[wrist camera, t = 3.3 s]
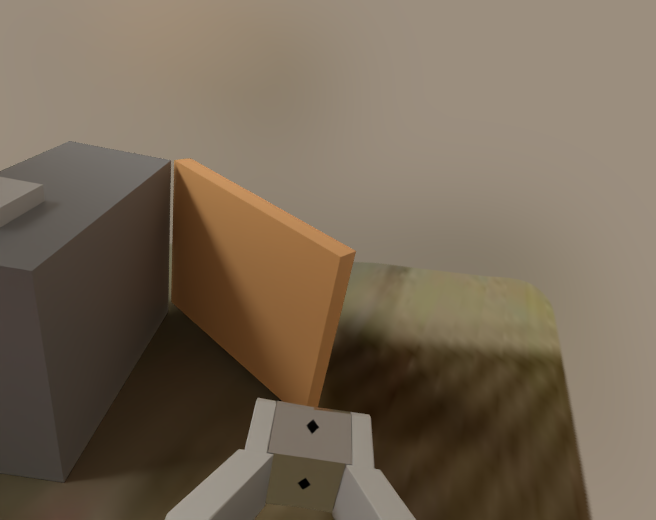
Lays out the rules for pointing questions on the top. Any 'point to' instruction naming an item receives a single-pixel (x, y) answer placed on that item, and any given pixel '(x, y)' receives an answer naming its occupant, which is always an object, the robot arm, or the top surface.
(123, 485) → the top surface
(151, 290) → the block
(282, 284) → the side door
